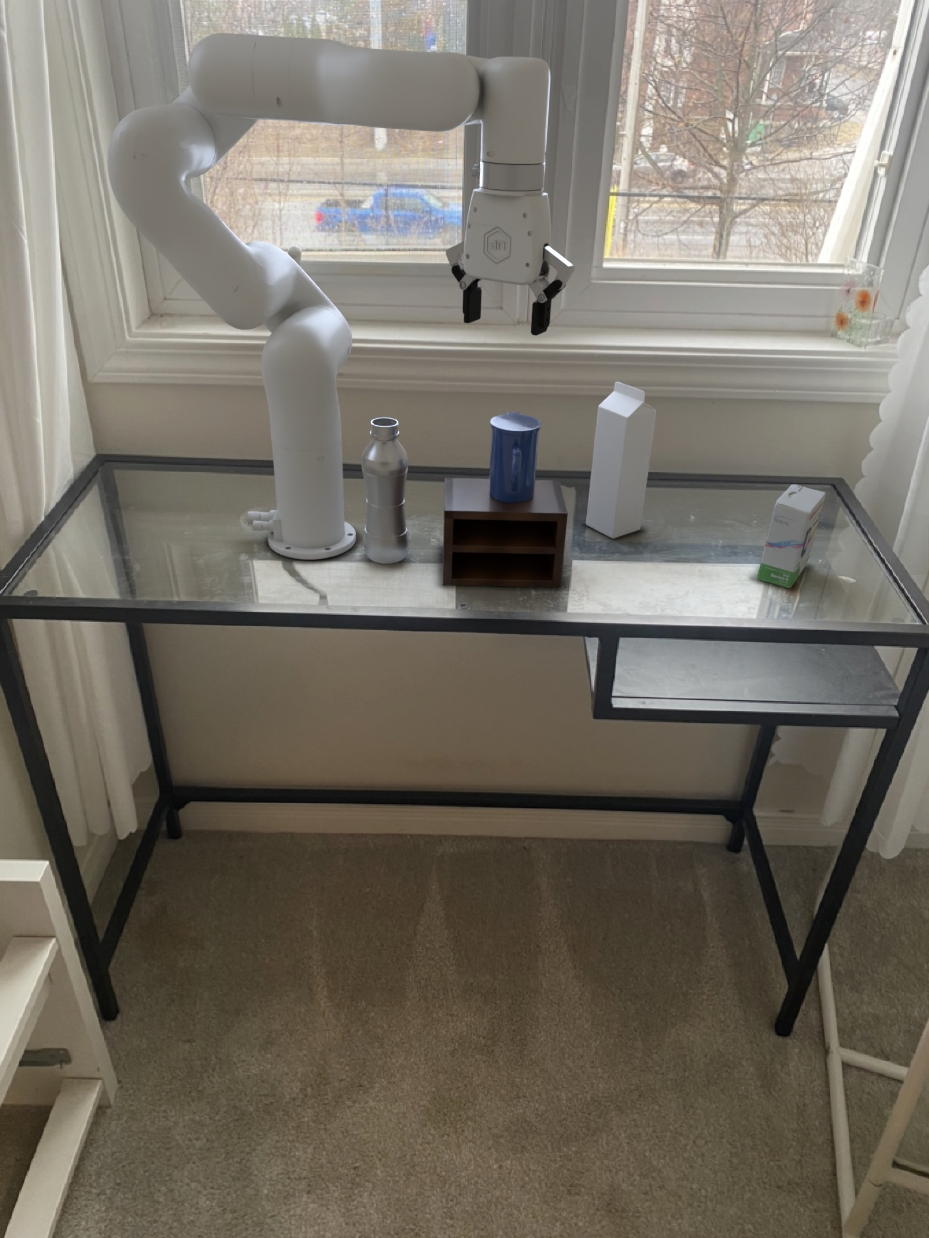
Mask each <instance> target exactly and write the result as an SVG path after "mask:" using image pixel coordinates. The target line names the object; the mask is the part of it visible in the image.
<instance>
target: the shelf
mask: <svg viewBox="0 0 929 1238" xmlns="http://www.w3.org/2000/svg"><path fill="white" fill-rule="evenodd" d="M443 486H444V487H443V488H444V489H443V528H442V529H443V532H442V533H443V534H442V586H469V587H470V586H474V587H476V586H477V587H478V586H479V587H521V588H523V587H524V588H525V587H527V588H528V587H530V588H561V587H562V580H563V579H562V578H563V569H564V557H565V547H566V546H565V545H566V536H567V524H568V515H569V513H568V509H567V505H566V501H565V498H564V493H563V490H562V489H563V488H562V485H561V482H560V480H558V479H557V480H553V479H552V480H551V479H535V492H534V497H533V498H532V499H530V500H528V501H525V502H519V503H509V502H502V501H498V500H496V499H494V498H492V497H491V496H490V495H489V493H488V489H489V478H472V477H471V478H470V477H469V478H468V477H467V478H466V477H444V484H443Z"/></svg>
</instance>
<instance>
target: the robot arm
mask: <svg viewBox="0 0 929 1238" xmlns="http://www.w3.org/2000/svg"><path fill="white" fill-rule="evenodd" d="M187 80H188V83H189V84H188V85H187V86H186V87H185V88H184V90H182V92H181V93H180V94H179V95H178V96H177V97H176V98H175V99H174V100H173V101H172V102H171V103H167V104H157V105H150V106H145V107H141V108H137V109H135V110H133V111H132V112H130V113H129V114H127V115H125V116H124V117H123V118H122V119H121V120H120V121H119V122H118V124H117V125H116V126H115V128H114V130H113V132H112V135H111V136H110V140H109V144H108V149H107V173H108V179H109V180H108V181H109V185H110V186H111V191H112V193H113V196H114V199H115V200H116V202H117V204H118V206H119V208H120V209H121V211H122V212H123V214H124V215H125V217H126V218H127V219H128V220H129V221H130V223H131V224H132V225H133V227H134V228H135V229H136V230H137V231H138V232H139V233H140V234H141V235H142V236H143V237H144V238H145V239H146V241H148V243H150V244H151V245H152V247H154V248H155V250H157V251H158V252H159V253H160V255H161V256H162V257H163V258H164V259H165V260H166V261H167V262H168V263H169V264H170V266H172V268H173V269H174V270H175V271H176V272H177V273H178V274H179V276H181V278H183V280H184V281H185V282H186V283H187V284H188V285H189V286H190V287H191V288H192V290H194V291H195V293H196V294H197V295H198V296H199V297H200V298H201V299H202V300H203V301H204V302H205V303H206V305H207V306H209V308H210V309H211V310H212V311H213V312H214V313H215V314H216V315H217V316H218V317H219V318H220V319H221V320H222V321H223V322H224V323H226V324H227V325H228V326H230V327H232V328H234V329H236V330H241V331H243V330H244V331H249V330H253V329H256V328H258V327H261V326H262V325H263V326H264V327H266V329H267V330H268V331H269V332H270V335H269V336H268V338H267V339H266V341H265V343H264V345H263V349H262V353H261V357H260V359H261V360H260V369H261V376H262V382H263V386H264V387H263V388H264V392H265V396H266V401H267V407H268V416H269V425H270V426H269V427H270V439H271V446H272V447H271V448H272V449H271V450H272V461H273V462H272V463H273V474H274V476H273V477H274V488H275V503H276V509H270V510H269V511H267V512H266V511H258V510H257V511H251V510H249V511H247V516H246V519H247V525H249V526H250V525H252V530H253V531H262V532H263V531H269V532H268V534H267V543H268V545H269V547H270V549H272V551H274V552H275V553H277V554H279V555H281V556H284V557H286V558H291V559H295V560H311V561H312V560H322V559H329V558H332V557H336V556H339V555H342V554H344V553H345V552H347V551H349V550H350V549H351V548H353V547H354V545H355V544H356V541H357V534H356V533H357V532H356V529H355V527H353V526H352V524H350V523H349V522H347V521H345V498H344V497H345V496H344V495H345V494H344V470H343V469H344V467H343V439H342V418H341V408H340V403H339V395H338V389H337V376H338V373H339V372H340V371H341V369H342V368H343V366H344V365H345V364H346V363H347V361H348V359H349V357H350V355H351V352H352V349H353V334H352V330H351V327H350V325H349V323H348V320H347V319H346V318H345V316H344V315H343V314H342V312H341V311H340V310H339V309H338V308H337V306H336V305H335V303H334V302H332V301H331V299H330V298H329V297H328V296H327V295H326V294H325V293H324V291H322V289H321V288H320V287H319V286H318V285H317V283H315V281H314V280H312V278H311V277H310V276H309V275H308V274H307V273H306V271H305V270H304V269H303V268H302V267H301V266H300V265H299V264H298V263H297V262H296V260H294V258H293V257H291V256H290V254H288V253H287V252H286V251H284V250H283V249H281V248H280V247H279V246H276V245H274V244H272V243H270V242H266V241H262V240H259V241H258V240H257V241H256V240H253V241H249V242H245V243H244V242H243V241H242V240H241V239H240V238H239V237H238V236H237V235H236V234H235V233H234V231H232V230H231V229H230V228H229V227H228V225H227V224H226V223H225V222H224V221H223V219H221V217H220V216H219V214H217V213H216V211H215V210H213V209H212V208H211V207H210V206H209V205H208V204H206V203H205V202H204V201H202V200H201V199H200V198H199V197H198V196H196V195H195V194H194V193H193V192H192V191H191V190H190V189H189V188H188V186H187V184H186V183H185V181H187V180H191V179H195V178H199V177H200V176H202V175H204V174H206V173H207V172H209V171H210V170H211V169H213V168H214V167H215V166H216V165H217V164H218V163H219V162H220V161H222V159H223V158H224V157H225V156H226V155H227V154H228V153H229V152H230V151H231V150H232V149H233V148H234V147H235V146H236V145H237V144H238V142H240V141H241V140H242V138H243V137H244V136H245V135H246V134H247V133H248V132H249V131H250V130H251V129H253V127H254V126H255V125H256V124H257V123H258V121H259V120H262V121H266V120H267V121H282V122H294V123H295V122H296V123H305V124H315V125H316V124H317V125H329V126H337V127H342V126H357V127H358V126H359V127H367V128H377V129H389V130H404V131H405V130H406V131H418V132H434V133H435V132H436V133H443V132H449V131H453V130H455V129H457V128H459V127H462V126H468V125H477V124H481V131H480V133H481V134H480V136H481V137H480V160H479V163H478V164H473V165H472V167H471V176H472V177H475V178H477V179H478V185H479V188H474V189H473V190H472V193H471V197H470V203H469V208H468V211H467V217H466V225H465V232H464V233H465V236H464V240H463V241H461V242H459V243H457V244H455V245H453V246H451V247H449V248H447V249H446V250H445V256H446V259H447V261H448V263H449V266H450V267H451V270H450V271H451V274H452V275H453V277H454V278H455V280H456V281H457V282H458V287H459V289H460V290H461V291H462V314H463V323H464V324H471V323H474V322H476V321H479V320H480V319H481V318H482V297H483V296H482V292H483V291H482V287H481V286H479V284H480V283H481V281H482V280H484V281H490V282H497V283H501V284H502V283H503V284H509V285H515V286H529V288H530V290H531V291H532V293H533V295H534V296H535V298H536V300H535V301H533V302H532V304H531V321H530V334H531V335H532V336H535V337H536V336H539V335H542V334H543V333H546V332H547V331H548V328H549V326H550V324H551V313H552V301H553V300H554V299H556V297H557V295H559V293H560V292H561V291H563V290H564V289H565V288H566V286H567V283H568V282H569V280H570V279H571V277H572V274H573V273H574V271H575V266H574V265H573V263H572V262H570V261H569V260H567V259H566V258H565V257H564V256H562V255H561V254H560V253H559V252H558V251H556V250H554V249H553V248H552V220H551V219H552V218H551V208H550V206H551V205H550V199H549V195H548V192H544V187H545V174H546V173H545V171H546V155H547V154H546V153H547V139H548V126H549V125H548V123H549V110H550V109H549V107H550V105H549V104H550V91H551V68H550V66H549V64H548V63H547V61H546V60H545V59H543V58H539V57H532V56H529V57H528V56H496V57H491V58H486V57H480V56H473V55H469V54H464V53H459V52H451V51H439V52H438V51H437V52H436V51H415V50H398V49H397V50H396V49H383V48H371V47H370V48H369V47H360V46H353V45H349V44H346V43H343V42H340V41H338V40H334V39H333V40H332V39H326V38H315V37H314V38H313V37H311V38H310V37H293V36H279V35H276V36H275V35H264V34H263V35H261V34H245V33H232V32H231V33H230V32H218V33H212V34H209V35H207V36H204V37H203V38H201V39H200V40H199V41H198V42H197V43H196V44H195V45H194V47H193V48H192V50H191V52H190V54H189V57H188V61H187ZM551 267H552V268H554V270H555V271H556V275H555V278H554V280H553V281H550V280H549V277H548V276H549V275H550V271H551Z"/></svg>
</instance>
